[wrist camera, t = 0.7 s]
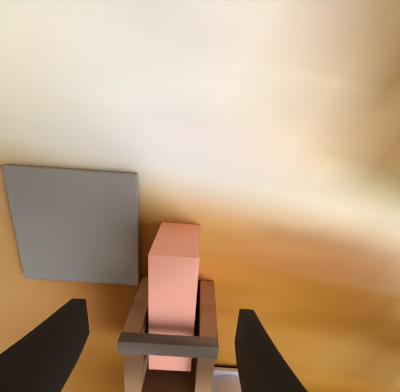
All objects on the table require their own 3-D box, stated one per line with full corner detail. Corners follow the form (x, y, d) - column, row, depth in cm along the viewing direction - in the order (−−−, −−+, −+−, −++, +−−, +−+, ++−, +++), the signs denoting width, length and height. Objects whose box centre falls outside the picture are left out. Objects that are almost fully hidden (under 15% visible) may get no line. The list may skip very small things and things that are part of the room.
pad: (139, 280, 20) (138, 285, 20) (29, 273, 20) (24, 278, 19) (137, 173, 17) (135, 174, 17) (7, 164, 17) (0, 165, 16)
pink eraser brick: (193, 317, 22) (190, 371, 17) (160, 315, 22) (148, 368, 17) (200, 223, 19) (199, 258, 14) (162, 221, 19) (148, 254, 14)
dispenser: (207, 340, 22) (209, 420, 16) (144, 336, 22) (122, 415, 16) (213, 281, 20) (218, 347, 14) (143, 276, 20) (117, 341, 14)
